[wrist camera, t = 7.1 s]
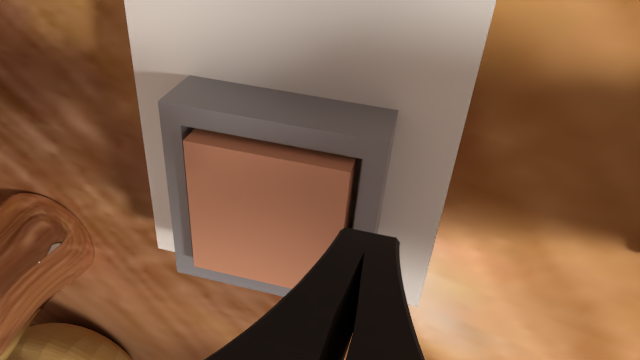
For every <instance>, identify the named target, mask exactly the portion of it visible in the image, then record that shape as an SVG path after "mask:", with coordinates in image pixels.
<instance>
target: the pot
mask: <svg viewBox="0 0 640 360" xmlns="http://www.w3.org/2000/svg"><path fill="white" fill-rule="evenodd" d="M7 360H132V358H131V357H130V356H129V355H128V354H127V353H126V352H125V351H124V350H123V349H122V348H120V347H119V346H118V345H117V344H115V343H114V342H112V341H111V340H109V339H108V338H106V337H104V336H102V335H101V334H99V333H97V332H95V331H92V330H90V329H87V328H84V327H81V326H77V325H72V324H66V323H44V324H38V325H33V326H29V327H28V328H27V330H26V331H25V333H24V334H23V336H22V337H21V339H20V340H19V342H18V344H17V345H16V347H15V348H14V350H13V352H12V353H11V355H10V356H9V358H8V359H7Z"/></svg>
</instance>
